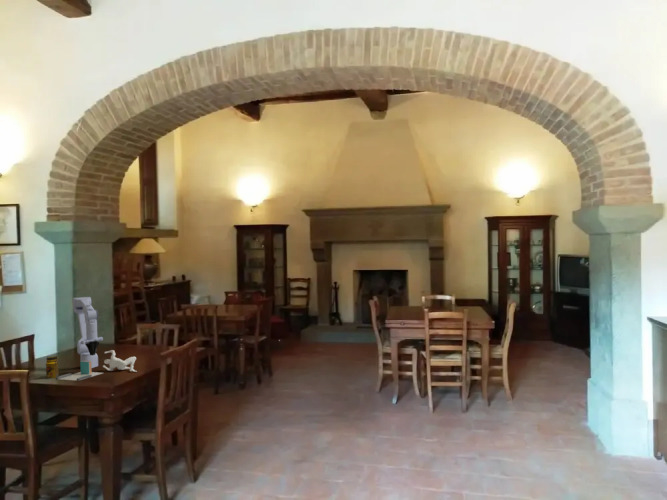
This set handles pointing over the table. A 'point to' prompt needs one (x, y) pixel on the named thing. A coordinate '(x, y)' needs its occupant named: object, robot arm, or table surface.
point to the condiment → (52, 367)
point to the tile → (85, 367)
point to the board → (77, 376)
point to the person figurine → (119, 362)
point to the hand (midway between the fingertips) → (92, 355)
